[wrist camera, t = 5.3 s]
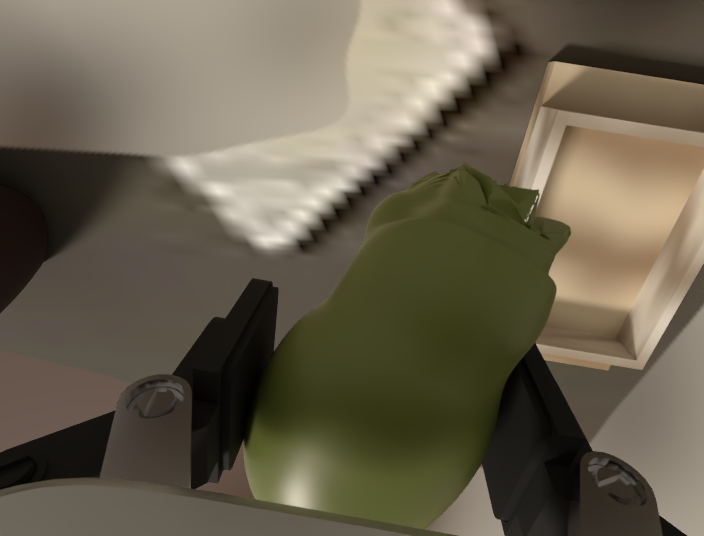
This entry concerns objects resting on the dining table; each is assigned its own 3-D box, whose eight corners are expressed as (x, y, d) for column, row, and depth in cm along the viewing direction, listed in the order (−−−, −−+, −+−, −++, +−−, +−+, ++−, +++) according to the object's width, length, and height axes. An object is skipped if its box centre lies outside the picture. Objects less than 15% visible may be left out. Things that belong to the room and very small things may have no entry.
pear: (169, 554, 9) (425, 106, 6) (239, 400, 14) (394, 121, 11) (398, 646, 9) (719, 286, 7) (384, 468, 14) (562, 222, 12)
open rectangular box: (548, 62, 22) (575, 60, 18) (740, 92, 22) (800, 95, 18) (461, 338, 30) (469, 369, 26) (601, 361, 29) (626, 395, 26)
